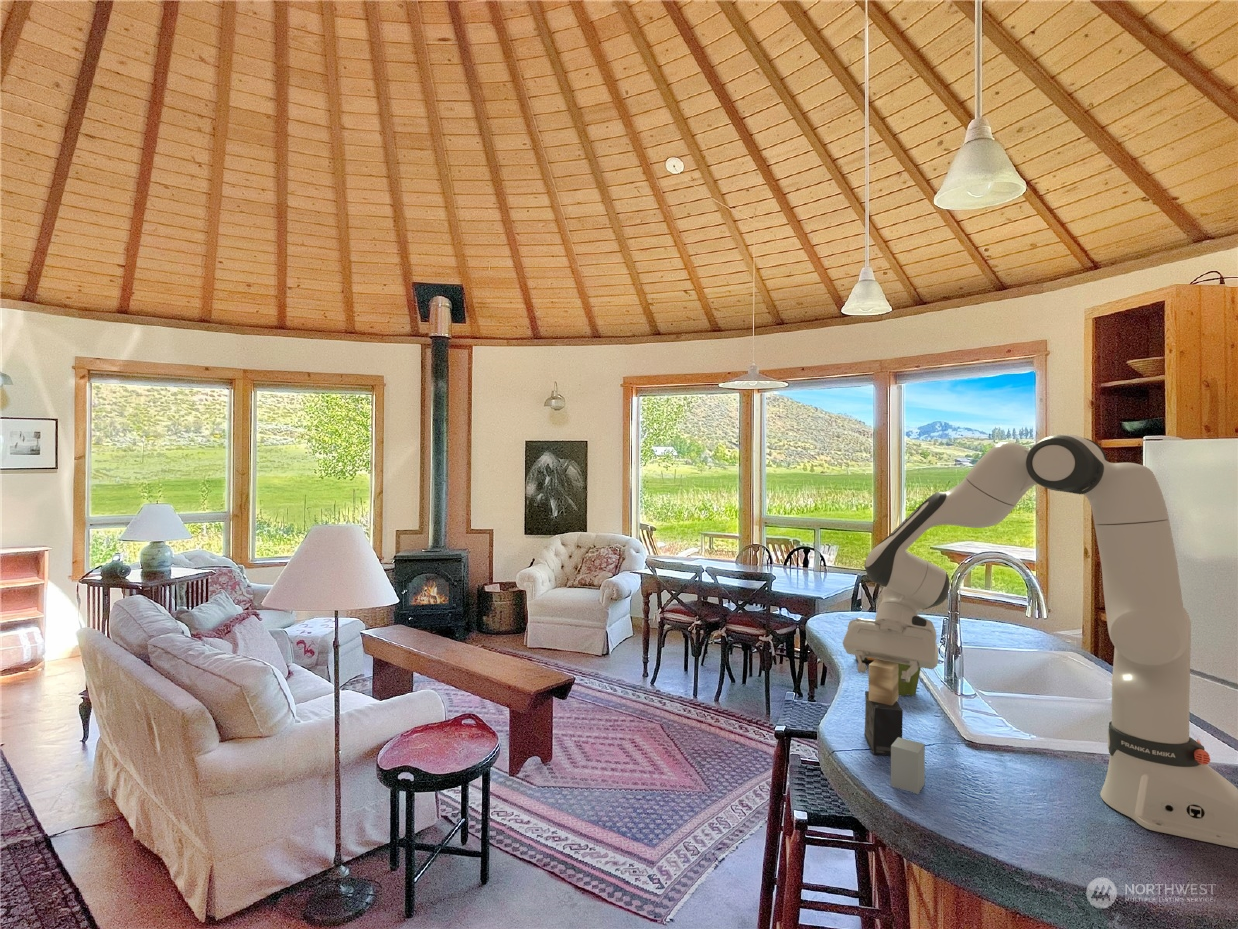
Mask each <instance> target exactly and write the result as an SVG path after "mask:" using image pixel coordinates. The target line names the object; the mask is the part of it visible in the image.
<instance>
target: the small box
mask: <svg viewBox="0 0 1238 929" xmlns="http://www.w3.org/2000/svg"><path fill="white" fill-rule="evenodd" d="M864 696H865V697H864V698H865V701H864V702H865V707H864V708H865V712H864V714H865V715H864V716H865V717H864V737H865V739H866V743H867V744H868V747H869V748H870V751H871V753H872V755H879V756H880V755H881V756H888V757H891V745H892V744H893V743H894V741H895V740H896V739H897V738H898V737H900V738H903V723H904V722H903V713H904V712H903V710H904V709H903V708H902V706H901V705H900V704H899V702H898V700H897V701H896V702H895V703H894V704H893V705H892V706H891V705H887V704H882V703H878V702H873V701H869V690H865V693H864Z"/></svg>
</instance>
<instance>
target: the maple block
mask: <svg viewBox="0 0 1238 929" xmlns="http://www.w3.org/2000/svg"><path fill="white" fill-rule="evenodd" d="M868 691H869V701H873V702H878V703H882V704H887V705H891V706H892V705H893V704H894V703H895V702H896V701H897V702H898V700H899V695H898V663H892V662H887V661H882V660H876V659H875V660H874V661H873V662H872V663H870V664H869V665H868Z"/></svg>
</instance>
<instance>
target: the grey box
mask: <svg viewBox="0 0 1238 929" xmlns="http://www.w3.org/2000/svg"><path fill="white" fill-rule="evenodd" d="M925 749H926V744H925V743H923V742H919V741H915V740H911V739H907V738H903V737H902V738H900V737H898V738H897V739H896V740H895V741H894V743H893V744H892V745H891V756H890V787H893V788H895V787H897V788H896V789H899V788H900V789H899V790H902V789H904V790H903V791H905V790H908V791H911V792H910V793H912V792H914V793H913V794H915V793H916V794H915V795H919V794H920V792H921V791H920V790H922V789H923V788H922V787H924V785H925V784H926V782H925V780H926V779H925V776H926V774H925V770H926V769H925V768H926V767H925V766H926V765H925V764H926V763H925V760H926V757H925V756H926V755H925V754H926V753H925V752H926V750H925ZM908 791H907V792H908Z"/></svg>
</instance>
